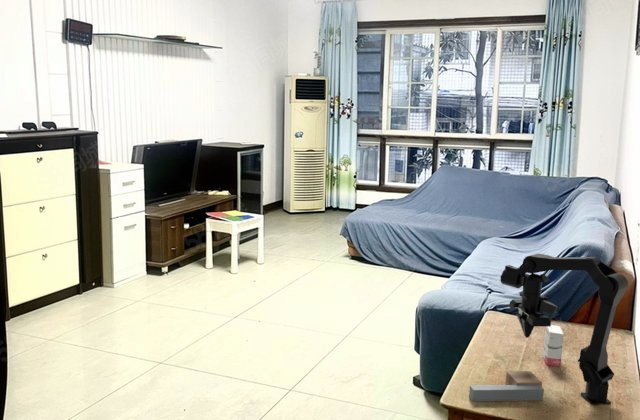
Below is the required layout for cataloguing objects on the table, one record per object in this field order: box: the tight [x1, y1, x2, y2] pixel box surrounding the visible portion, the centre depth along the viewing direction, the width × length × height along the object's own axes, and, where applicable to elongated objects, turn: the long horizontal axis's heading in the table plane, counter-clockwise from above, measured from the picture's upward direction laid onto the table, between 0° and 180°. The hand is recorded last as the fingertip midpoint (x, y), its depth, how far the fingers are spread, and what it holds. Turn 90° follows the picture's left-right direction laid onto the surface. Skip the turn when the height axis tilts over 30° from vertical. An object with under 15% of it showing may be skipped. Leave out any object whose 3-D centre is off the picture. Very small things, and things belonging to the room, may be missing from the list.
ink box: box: [542, 324, 565, 367], centre depth 212 cm, size 9×5×12 cm, turn 168°
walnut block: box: [504, 370, 543, 388], centre depth 189 cm, size 8×8×4 cm
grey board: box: [468, 384, 545, 402], centre depth 183 cm, size 3×22×4 cm, turn 96°
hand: (526, 337), depth 201 cm, fingers closed
